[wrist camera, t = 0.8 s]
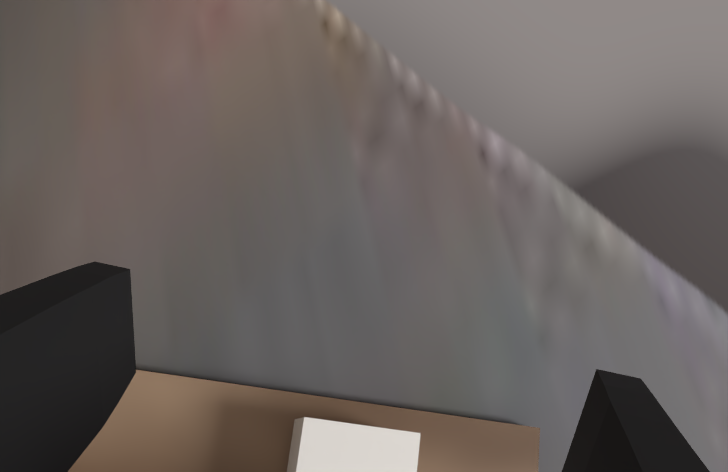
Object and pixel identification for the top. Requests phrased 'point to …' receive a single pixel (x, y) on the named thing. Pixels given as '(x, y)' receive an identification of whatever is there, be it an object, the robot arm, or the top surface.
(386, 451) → the sleeve
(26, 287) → the robot arm
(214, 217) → the top surface
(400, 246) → the top surface
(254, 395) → the guide board
